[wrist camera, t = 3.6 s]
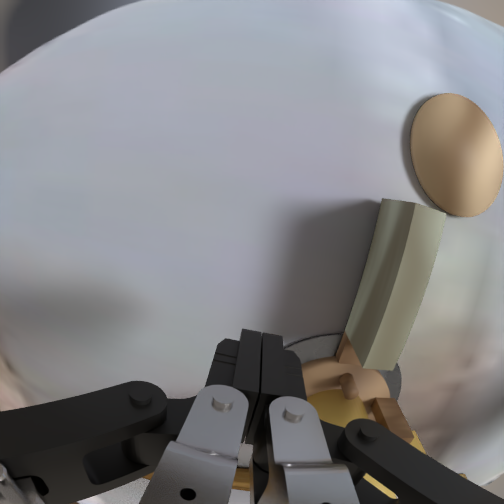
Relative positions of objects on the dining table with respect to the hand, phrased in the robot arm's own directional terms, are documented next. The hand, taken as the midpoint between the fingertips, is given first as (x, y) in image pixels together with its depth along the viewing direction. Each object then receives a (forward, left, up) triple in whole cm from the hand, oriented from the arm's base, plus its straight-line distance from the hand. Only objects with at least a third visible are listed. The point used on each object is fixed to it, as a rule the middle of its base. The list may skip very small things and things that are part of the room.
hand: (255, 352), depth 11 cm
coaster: (-12, -12, -9) cm, 19 cm away
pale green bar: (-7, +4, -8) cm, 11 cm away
